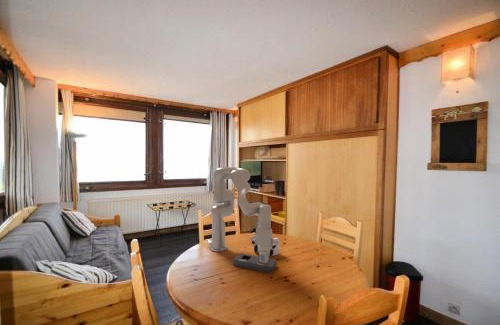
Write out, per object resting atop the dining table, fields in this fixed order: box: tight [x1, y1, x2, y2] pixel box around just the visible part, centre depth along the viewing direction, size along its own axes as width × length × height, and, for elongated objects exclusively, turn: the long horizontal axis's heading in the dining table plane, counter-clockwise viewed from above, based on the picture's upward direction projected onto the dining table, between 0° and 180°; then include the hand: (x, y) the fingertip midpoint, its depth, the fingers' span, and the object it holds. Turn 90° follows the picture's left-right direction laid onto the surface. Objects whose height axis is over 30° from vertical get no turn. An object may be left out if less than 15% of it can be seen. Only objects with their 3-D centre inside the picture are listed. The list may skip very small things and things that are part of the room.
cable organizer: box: [254, 237, 281, 257], centre depth 159 cm, size 15×11×12 cm
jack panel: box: [233, 252, 277, 274], centre depth 140 cm, size 24×10×4 cm, turn 65°
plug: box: [259, 249, 270, 264], centre depth 138 cm, size 4×5×11 cm
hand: (263, 253), depth 138 cm, fingers open, 9 cm apart
